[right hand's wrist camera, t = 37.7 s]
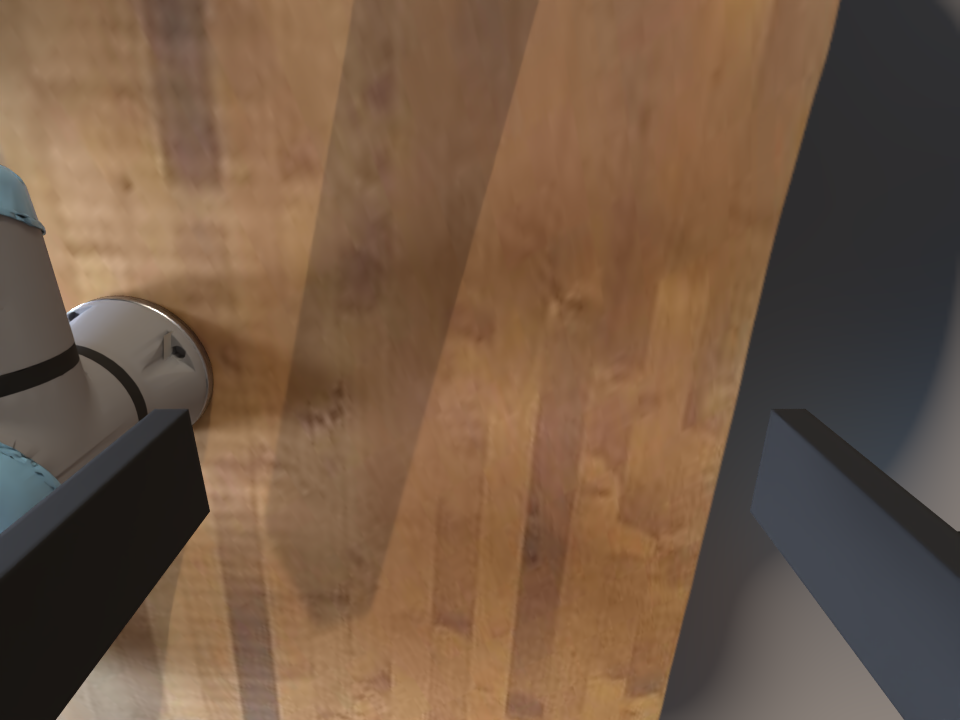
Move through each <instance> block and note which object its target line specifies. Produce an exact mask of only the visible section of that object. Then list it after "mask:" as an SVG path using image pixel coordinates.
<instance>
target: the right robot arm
mask: <svg viewBox="0 0 960 720" xmlns="http://www.w3.org/2000/svg"><path fill="white" fill-rule="evenodd" d="M45 234H46V230H45V228H44V226H43V225H42V224H41V223H40V222H39V221H38V218H37V215H36V212H35V209H34V207H33V204H32V201H31V198H30V195H29V193H28V190H27V187H26V185H25V184H24V182H23V181H22V179H21V178H20V177H19V176H18V175H16V174H15V173H14V172H13V171H11V170H10V169H8V168H6V167H4V166H2V165H0V720H56V719H57V717H58V716H59V715H60V713H61V712H62V711H63V709H64V708H65V707H66V705H67V704H68V703H69V701H70V700H71V698H72V697H73V696H74V694H75V693H76V692H77V690H78V689H79V688H80V686H81V685H82V684H83V682H84V681H85V680H86V678H87V677H88V676H89V674H90V673H91V671H92V670H93V669H94V667H95V666H96V665H97V663H98V662H99V661H100V659H101V658H102V657H103V655H104V654H105V653H106V651H107V650H108V648H109V647H110V646H111V644H112V643H113V642H114V640H115V639H116V638H117V636H118V635H119V634H120V632H121V631H122V630H123V628H124V627H125V625H126V624H127V623H128V621H129V620H130V619H131V617H132V616H133V615H134V613H135V612H136V611H137V609H138V608H139V607H140V605H141V604H142V603H143V601H144V600H145V598H146V597H147V596H148V594H149V593H150V592H151V590H152V589H153V588H154V586H155V585H156V584H157V582H158V581H159V580H160V578H161V577H162V575H163V574H164V573H165V571H166V570H167V569H168V567H169V566H170V565H171V563H172V562H173V561H174V559H175V558H176V557H177V555H178V554H179V552H180V551H181V550H182V548H183V547H184V546H185V544H186V543H187V542H188V540H189V539H190V538H191V536H192V535H193V534H194V532H195V531H196V529H197V528H198V527H199V525H200V524H201V523H202V521H203V520H204V519H205V517H206V516H207V515H208V513H209V512H210V509H209V505H208V500H207V495H206V490H205V485H204V481H203V476H202V471H201V466H200V461H199V457H198V452H197V447H196V442H195V437H194V433H193V428H192V425H193V424H194V423H195V422H196V421H197V420H198V419H199V418H200V417H201V416H202V414H203V413H204V412H205V410H206V408H207V406H208V404H209V402H210V399H211V395H212V390H213V373H212V367H211V364H210V360H209V358H208V355H207V353H206V351H205V349H204V347H203V345H202V343H201V342H200V340H199V339H198V337H197V336H196V335H195V333H194V332H193V331H192V330H191V329H190V328H189V327H188V326H187V325H186V324H185V323H184V322H183V321H182V320H181V319H179V318H178V317H177V316H176V315H174V314H173V313H171V312H170V311H168V310H166V309H165V308H163V307H161V306H159V305H157V304H155V303H152V302H149V301H147V300H143V299H140V298H135V297H129V296H107V297H102V298H98V299H94V300H92V301H89V302H87V303H84V304H82V305H79V306H77V307H76V308H74V309H72V310H71V311H69V312H68V313H66V310H65V307H64V304H63V300H62V297H61V294H60V291H59V287H58V284H57V281H56V278H55V274H54V271H53V268H52V264H51V261H50V258H49V255H48V251H47V248H46V245H45V241H44V238H43V235H45ZM750 512H751V513H752V515H753V516H754V517H755V519H756V520H757V521H758V523H759V524H760V525H761V527H762V528H763V529H764V531H765V532H766V534H767V535H768V536H769V538H770V539H771V540H772V542H773V543H774V544H775V546H776V547H777V548H778V550H779V551H780V552H781V554H782V555H783V557H784V558H785V559H786V561H787V562H788V563H789V565H790V566H791V567H792V569H793V570H794V571H795V573H796V574H797V575H798V577H799V578H800V580H801V581H802V582H803V584H804V585H805V586H806V588H807V589H808V590H809V592H810V593H811V594H812V596H813V597H814V598H815V600H816V601H817V602H818V604H819V605H820V607H821V608H822V609H823V611H824V612H825V613H826V615H827V616H828V617H829V619H830V620H831V621H832V623H833V624H834V625H835V627H836V628H837V630H838V631H839V632H840V634H841V635H842V636H843V638H844V639H845V640H846V642H847V643H848V644H849V646H850V647H851V648H852V650H853V651H854V652H855V654H856V655H857V657H858V658H859V659H860V661H861V662H862V663H863V665H864V666H865V667H866V669H867V670H868V671H869V673H870V674H871V676H872V677H873V678H874V680H875V681H876V682H877V683H878V685H879V686H880V688H881V689H882V690H883V692H884V693H885V694H886V696H887V697H888V698H889V700H890V701H891V703H892V704H893V705H894V707H895V708H896V709H897V711H898V712H899V713H900V715H901V716H902V717H903V719H904V720H960V531H956V530H955V529H953V528H952V527H951V526H950V525H948V524H947V523H946V522H945V521H943V520H942V519H941V518H940V517H938V516H937V515H936V514H935V513H933V512H932V511H931V510H930V509H929V508H927V507H926V506H925V505H924V504H922V503H921V502H920V501H919V500H917V499H916V498H915V497H914V496H912V495H911V494H910V493H909V492H908V491H906V490H905V489H904V488H903V487H901V486H900V485H899V484H898V483H896V482H895V481H894V480H893V479H891V478H890V477H889V476H888V475H886V474H885V473H884V472H883V471H882V470H880V469H879V468H878V467H877V466H875V465H874V464H873V463H872V462H870V461H869V460H868V459H867V458H865V457H864V456H863V455H862V454H860V453H859V452H858V451H857V450H856V449H854V448H853V447H852V446H851V445H849V444H848V443H847V442H846V441H844V440H843V439H842V438H841V437H839V436H838V435H837V434H836V433H834V432H833V431H832V430H831V429H830V428H828V427H827V426H826V425H825V424H823V423H822V422H821V421H820V420H818V419H817V418H816V417H815V416H813V415H812V414H811V413H810V412H808V411H807V410H806V409H771V413H770V418H769V423H768V428H767V433H766V438H765V442H764V447H763V452H762V457H761V461H760V466H759V471H758V476H757V481H756V485H755V490H754V495H753V500H752V505H751V509H750Z"/></svg>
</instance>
